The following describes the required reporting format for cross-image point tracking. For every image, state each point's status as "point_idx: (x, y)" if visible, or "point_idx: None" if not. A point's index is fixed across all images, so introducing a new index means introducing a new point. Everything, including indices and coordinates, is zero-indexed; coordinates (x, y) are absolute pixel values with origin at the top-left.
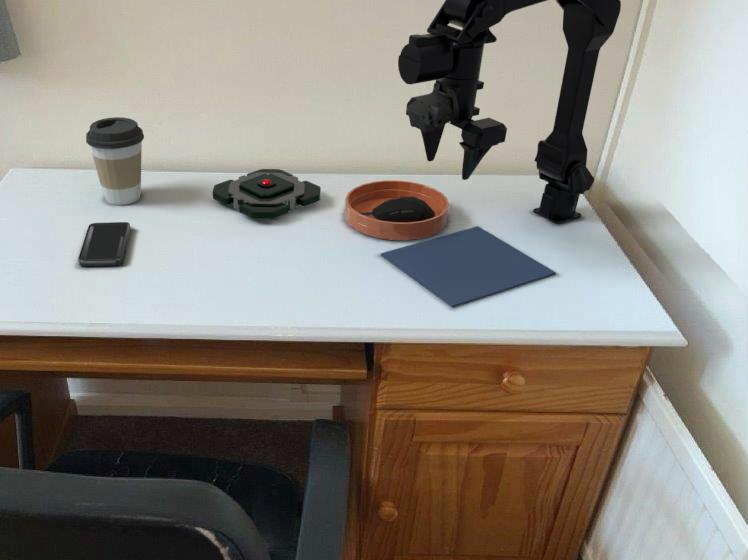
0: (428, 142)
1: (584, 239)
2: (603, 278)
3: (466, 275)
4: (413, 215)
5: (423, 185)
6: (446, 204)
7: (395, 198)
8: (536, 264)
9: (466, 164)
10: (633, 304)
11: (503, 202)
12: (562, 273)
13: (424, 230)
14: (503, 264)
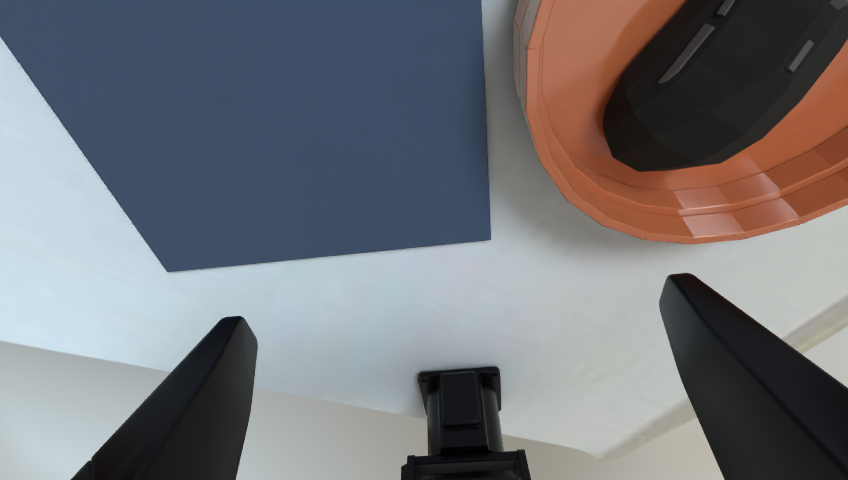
0: (785, 426)
1: (335, 378)
2: (146, 332)
3: (153, 27)
4: (652, 70)
5: (793, 221)
6: (604, 215)
7: (810, 48)
8: (217, 256)
9: (104, 447)
10: (19, 323)
11: (580, 344)
12: (176, 282)
13: (518, 48)
14: (228, 184)
